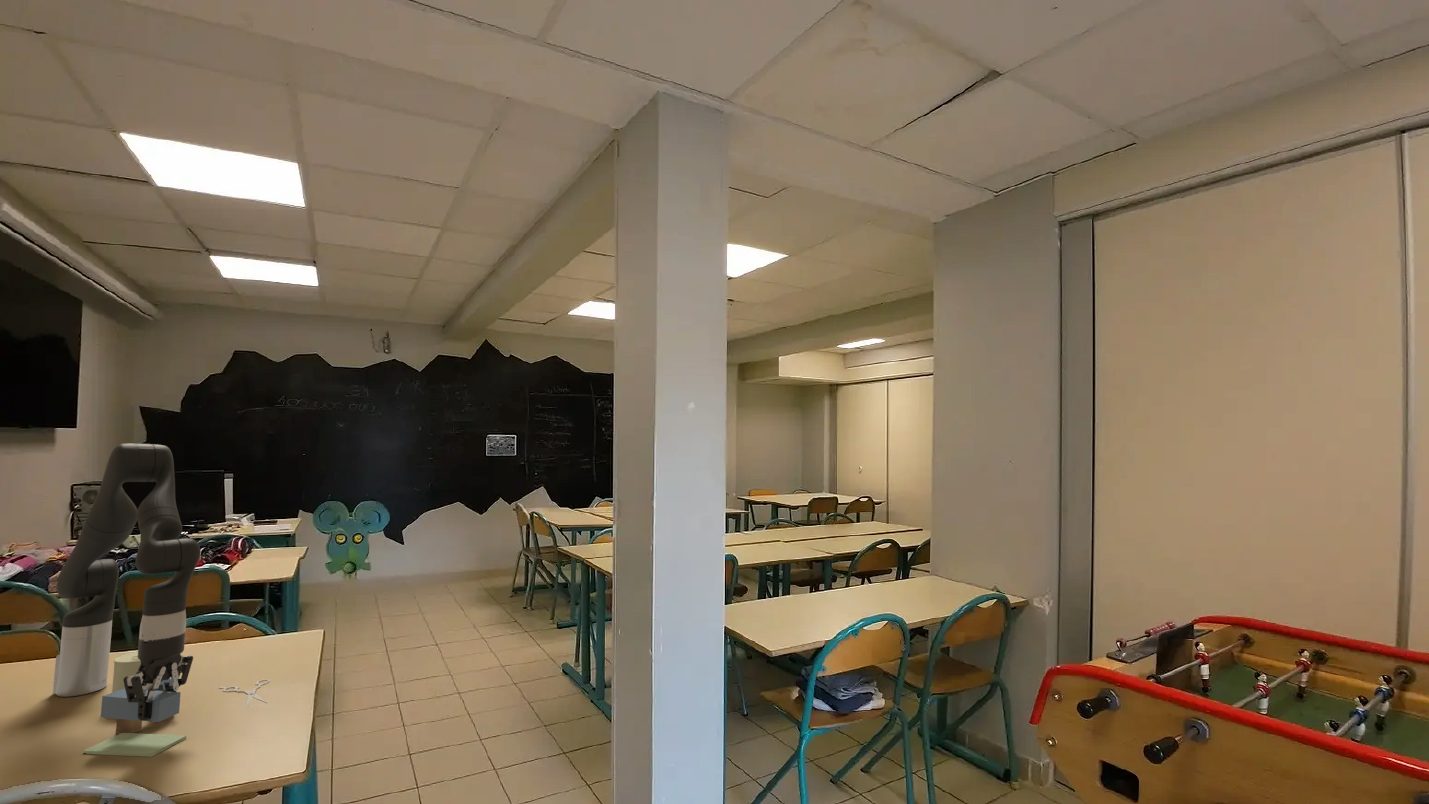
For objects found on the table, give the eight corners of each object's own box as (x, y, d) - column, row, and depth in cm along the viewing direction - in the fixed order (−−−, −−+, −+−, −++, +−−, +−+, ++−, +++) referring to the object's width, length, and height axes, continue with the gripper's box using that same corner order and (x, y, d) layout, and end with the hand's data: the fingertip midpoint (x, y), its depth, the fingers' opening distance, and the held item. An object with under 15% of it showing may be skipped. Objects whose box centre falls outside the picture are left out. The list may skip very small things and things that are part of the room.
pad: (82, 753, 128) (83, 750, 128) (121, 735, 136) (122, 732, 136) (151, 756, 127) (151, 753, 127) (186, 738, 135) (186, 735, 135)
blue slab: (100, 717, 131) (102, 696, 131) (122, 708, 135) (124, 688, 136) (158, 722, 129) (160, 700, 130) (179, 713, 134) (180, 692, 134)
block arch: (115, 733, 137) (118, 693, 138) (158, 713, 147) (161, 677, 148) (132, 733, 137) (135, 694, 137) (174, 714, 147) (177, 677, 147)
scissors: (267, 677, 170) (283, 697, 156) (267, 679, 170) (282, 701, 156) (218, 687, 163) (230, 710, 149) (218, 690, 162) (230, 713, 148)
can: (102, 714, 146) (107, 662, 147) (118, 699, 154) (122, 650, 155) (153, 707, 151) (157, 656, 151) (165, 693, 159) (169, 645, 160)
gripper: (176, 623, 140) (170, 700, 139) (112, 643, 126) (105, 729, 125) (208, 624, 140) (202, 701, 139) (147, 644, 126) (140, 730, 124)
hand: (156, 714), depth 132 cm, fingers closed on blue slab, 4 cm apart
